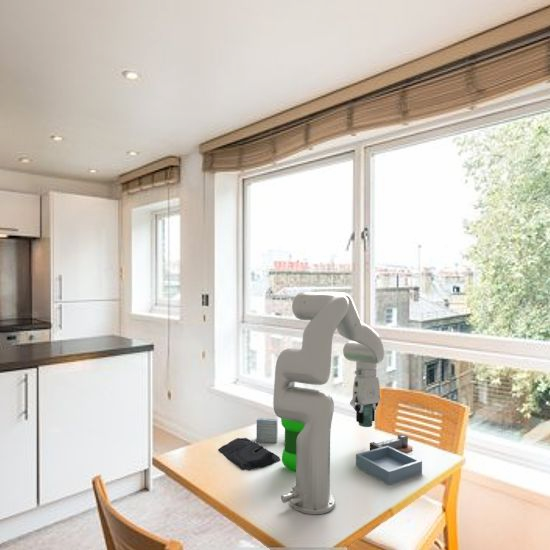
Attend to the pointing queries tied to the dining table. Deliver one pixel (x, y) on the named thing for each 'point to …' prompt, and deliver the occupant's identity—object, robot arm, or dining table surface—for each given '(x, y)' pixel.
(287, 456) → the plastic bottle
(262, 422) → the medicine box
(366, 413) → the teal cylinder
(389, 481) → the tray
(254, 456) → the dark slate chunk
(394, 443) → the crank lever
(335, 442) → the dining table surface
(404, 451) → the crank base
